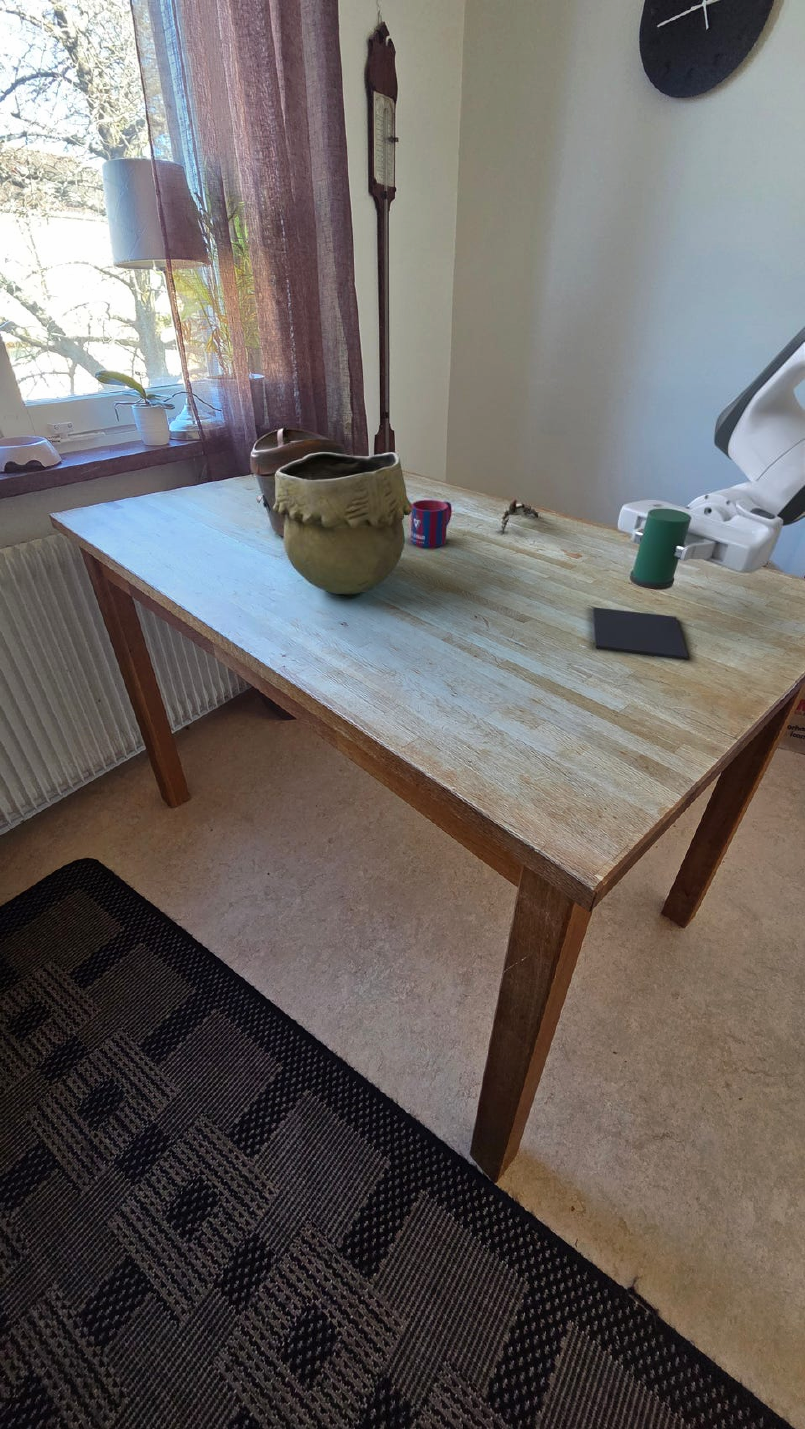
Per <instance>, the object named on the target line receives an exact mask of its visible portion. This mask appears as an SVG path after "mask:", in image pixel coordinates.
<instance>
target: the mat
mask: <svg viewBox="0 0 805 1429" xmlns="http://www.w3.org/2000/svg"><path fill="white" fill-rule="evenodd" d="M592 613H593V614H592V618H593V631H594V633H593V634H594V648H595V649H598V650H606V651H613V652H614V651H615V652H622V653H629V654H637V655H638V654H639V655H644V656H646V655H647V656H652V657H661V658H669V659H677V660H686V661H687V660H688V658H689V656H688V654H689V653H688V651H687V648H686V644H685V642H684V639H683V638H684V637H683V635H682V631H681V628H680V625H679V622H678V618H677V616H673V615H664V614H656V613H655V614H654V613H648V612H637V611H629V610H621V609H612V608H603V607H593V609H592Z"/></svg>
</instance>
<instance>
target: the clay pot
mask: <svg viewBox="0 0 805 1429" xmlns="http://www.w3.org/2000/svg"><path fill="white" fill-rule="evenodd" d="M275 482H276V486H275V493H276V503H275V505H274V507H273V511H274V513H278V512H279V513H280V515H282V516H284V515H285V522H284V536H283V547H284V550H285V553H286V556H287V558H288V560H289V562H290V564H291V566H292V567H293V569H295V570H296V572H297V573H298V574H299V575H300V576H302V578H304V580H306V582H308V583H309V584H311V585H312V586H314V587H316V588H318V589H320V590H322V591H325V592H328V593H331V594H334V595H335V594H336V595H357V594H362V593H364V592H367V591H371V590H372V589H374V588H376V587H378V586H379V585H381V584H382V583H383V582H384V581H385V580H386V579H387V578H388V577H389V576H390V575H391V574H392V572H393V571H394V570H395V568H397V565H398V564H399V562H400V559H401V557H402V554H403V551H404V548H405V545H406V544H405V543H406V538H405V537H406V536H405V528H404V523H403V521H404V519H405V516H411V511H412V502H411V501H410V499H409V498H408V496H407V495H408V494H407V487H406V484H405V479H404V475H403V469H402V464H401V458H400V457H399V456H398V454H397V453H396V452H384V453H381V454H374V455H368V456H365V455H364V456H363V455H348V454H347V455H343V454H337V453H331V452H319V453H314V454H309V455H307V456H305V457H304V458H303V459H300V460H296V461H293V462H291V463H289V464H287V465H285V466H283V467H281V468H279V469H278V470H277V472H276V474H275Z"/></svg>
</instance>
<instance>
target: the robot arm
mask: <svg viewBox="0 0 805 1429" xmlns="http://www.w3.org/2000/svg"><path fill="white" fill-rule="evenodd" d="M804 380H805V326H803V327H802V329H800V331H799V332H797V333H796V335H794V337H793V338H792V339H790V341H789V342H788V343H787V344H786V345H785V346H784V347H783V348H782V349H781V351H780V352H779V353H778V354H777V355H776V356H775V357H774V358H773V359H772V360H771V361H770V363H769V364H767V366H766V367H765V368H764V369H763V370H762V371H761V372H760V373H759V375H757V377H755V379H754V380H753V381H751V383H750V384H749V385H748V386H747V387H746V388H745V389H744V390H743V391H742V392H741V393H740V394H738V395H737V396H736V397H735V398H733V399H732V401H730V403H728V404H727V405H726V406H725V407H724V409H723V410H722V411H721V413H720V414H719V415H718V417H717V418H716V422H715V425H714V426H715V427H714V435H713V443H714V446H715V447H716V448H717V449H718V450H720V451H721V453H723V454H724V455H725V456H726V457H727V458H728V459H729V460H730V461H733V463H734V464H735V465H736V466H737V467H738V468H739V470H740V471H741V472H742V473H743V474H744V475H745V476H746V477H747V479H748V480H749V481H747V482H743V483H739V484H736V485H733V486H731V487H729V488H722V489H720V490H716V491H713V492H709V493H706V494H703V495H700V496H698V497H696V498H695V499H693V500H692V501H691V502H690V503H689V504H688V505H687V506H686V507H685V506H681V505H678V504H674V503H671V502H667V501H665V500H660V499H643V500H638V501H634V502H627V503H625V504H624V505H622V507H621V509H620V512H619V515H618V520H617V530H618V531H619V532H623V533H625V534H628V535H631V538H630V542H631V543H633V544H636V545H638V546H640V542H641V538H642V534H643V530H644V527H645V523H646V519H647V515H648V512H649V511H650V510H653V509H673V510H678V511H682V512H684V513H687V514H688V515H690V516H691V521H690V525H689V528H688V531H687V534H686V538H685V541H684V542H683V543H682V544H678V545H677V547H676V552H675V553H674V557H675V558H678V559H679V560H680V561H684V562H686V561H689V560H703V561H705V562H708V563H711V564H715V565H717V566H720V567H722V568H726V569H728V570H732V571H735V572H737V573H741V574H753V573H755V572H757V571H759V570H761V569H762V568H763V567H765V566H766V565H767V564H768V562H769V561H770V559H771V556H772V555H773V552H774V550H775V549H776V546H777V543H778V540H779V538H780V535H781V532H782V529H783V527H785V526H790V525H792V524H795V523H797V522H799V521H801V520H803V519H804V518H805V408H803V407H802V405H801V403H800V402H799V401H798V399H797V397H796V395H795V389H796V388H797V386H798V385H800V384H801V383H802V382H803V381H804Z"/></svg>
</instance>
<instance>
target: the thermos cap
mask: <svg viewBox="0 0 805 1429" xmlns="http://www.w3.org/2000/svg"><path fill="white" fill-rule="evenodd" d="M690 521H691V516H690V515H688V514H687V513H684V512H682V511H678V510H673V509H653V510H650V511H649V512H648V515H647V519H646V523H645V527H644V530H643V534H642V538H641V542H640V545H638V550H637V554H636V558H635V563H634V566H633V569H632V570H631V571H630V574H629V580H630V582H631V583H632V584H634V585H635V586H638V587H640V588H644V589H648V590H653V591H654V590H656V591H663V590H668V589H671V588H672V587H673V586H674V582H675V574H676V570H677V568H678V564H679V560H680V559H678V558H675V557H674V553H675V552H676V547H677V545H678V544H682V543H683V542H684V541H685V538H686V534H687V531H688V528H689V525H690Z"/></svg>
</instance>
